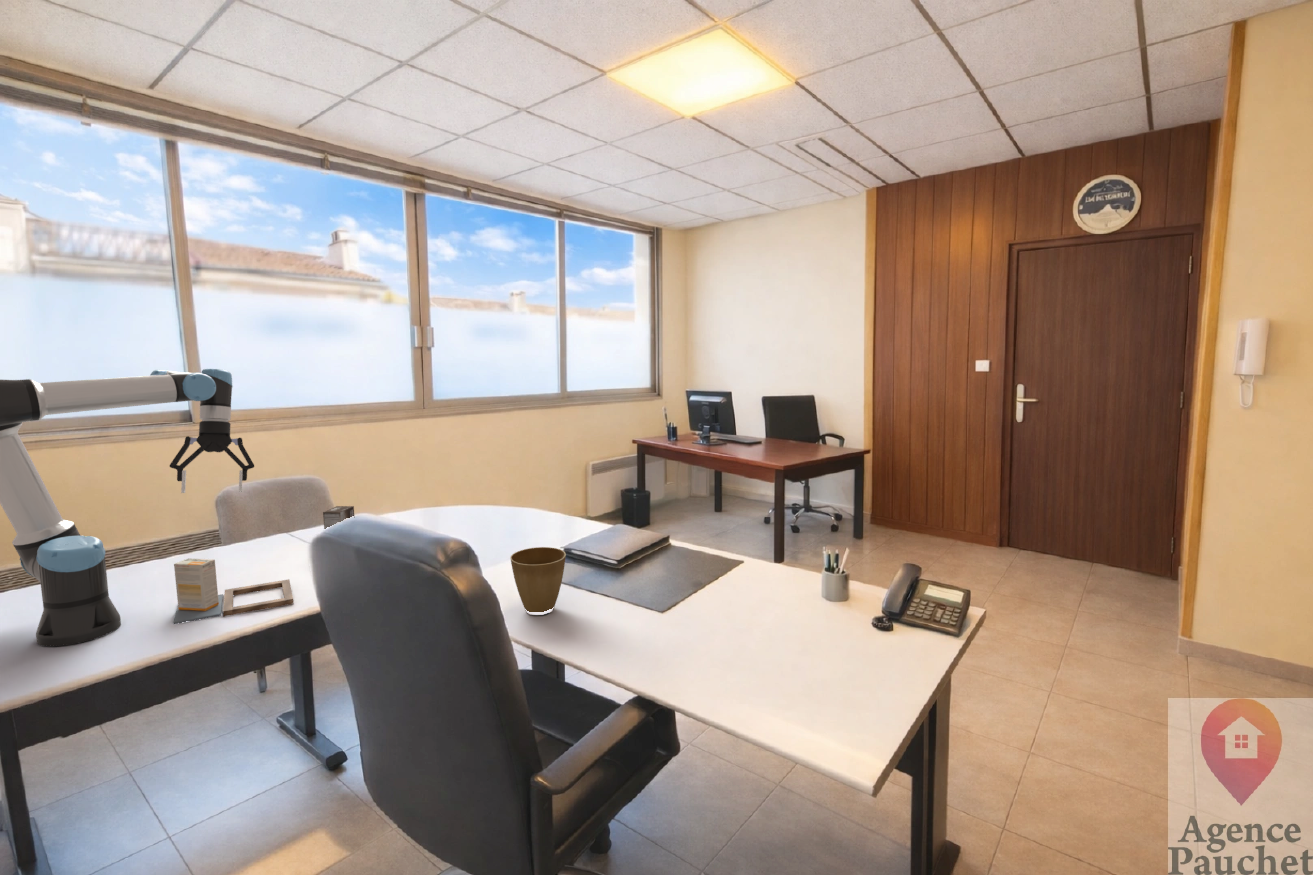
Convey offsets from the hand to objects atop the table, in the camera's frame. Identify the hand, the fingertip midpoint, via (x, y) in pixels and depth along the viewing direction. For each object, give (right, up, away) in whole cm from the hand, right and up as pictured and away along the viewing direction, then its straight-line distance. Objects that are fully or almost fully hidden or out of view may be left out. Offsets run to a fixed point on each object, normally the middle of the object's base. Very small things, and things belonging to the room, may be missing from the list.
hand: (212, 492), depth 178 cm
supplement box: (+7, -30, -14) cm, 34 cm away
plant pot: (+99, -32, -12) cm, 105 cm away
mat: (+7, -31, -14) cm, 35 cm away
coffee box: (+20, -25, +35) cm, 47 cm away
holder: (+18, -30, -7) cm, 36 cm away
